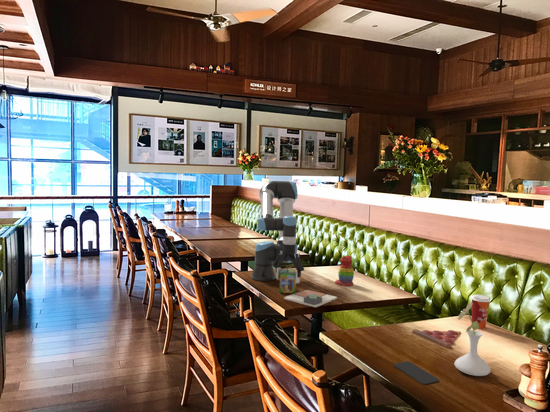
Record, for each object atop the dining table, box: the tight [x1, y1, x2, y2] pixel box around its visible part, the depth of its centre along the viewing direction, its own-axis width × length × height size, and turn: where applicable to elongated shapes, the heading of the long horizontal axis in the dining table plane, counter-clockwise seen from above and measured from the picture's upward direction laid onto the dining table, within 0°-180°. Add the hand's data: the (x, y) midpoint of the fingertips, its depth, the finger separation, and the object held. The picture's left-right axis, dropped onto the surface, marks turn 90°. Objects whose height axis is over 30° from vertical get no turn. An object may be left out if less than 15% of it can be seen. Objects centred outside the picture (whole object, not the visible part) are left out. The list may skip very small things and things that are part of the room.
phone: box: [393, 360, 440, 386], centre depth 142 cm, size 7×1×15 cm
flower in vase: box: [454, 301, 492, 377], centre depth 144 cm, size 13×11×25 cm
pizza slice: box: [411, 328, 462, 349], centre depth 177 cm, size 18×2×20 cm
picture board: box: [283, 289, 338, 308], centre depth 224 cm, size 20×21×4 cm
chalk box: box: [279, 264, 297, 294], centre depth 237 cm, size 9×9×15 cm
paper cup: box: [470, 294, 491, 330], centre depth 189 cm, size 8×8×14 cm
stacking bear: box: [334, 255, 355, 287], centre depth 257 cm, size 11×10×18 cm
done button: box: [309, 294, 317, 300], centre depth 215 cm, size 4×4×2 cm
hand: (287, 280), depth 237 cm, fingers open, 13 cm apart
